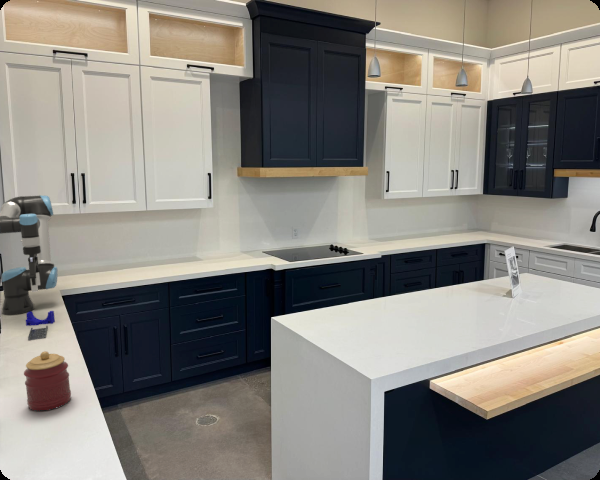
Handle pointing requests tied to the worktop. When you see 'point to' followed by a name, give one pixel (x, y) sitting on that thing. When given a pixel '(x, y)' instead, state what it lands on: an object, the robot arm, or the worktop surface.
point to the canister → (47, 382)
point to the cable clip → (34, 321)
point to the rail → (37, 333)
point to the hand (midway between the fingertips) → (36, 288)
